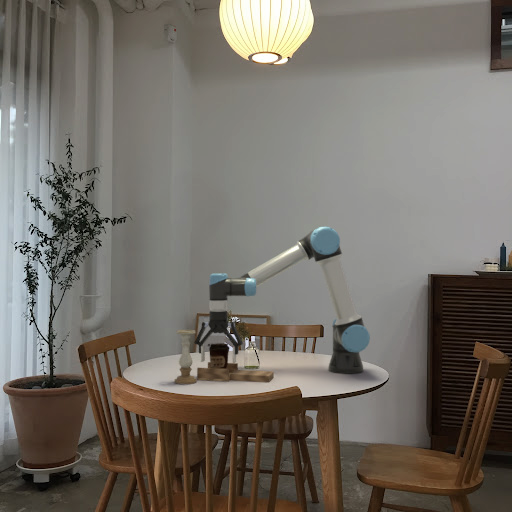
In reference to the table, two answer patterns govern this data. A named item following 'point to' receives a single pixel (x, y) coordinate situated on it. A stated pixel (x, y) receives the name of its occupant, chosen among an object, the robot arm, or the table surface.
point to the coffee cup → (219, 355)
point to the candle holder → (185, 359)
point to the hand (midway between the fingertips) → (218, 361)
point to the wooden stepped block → (233, 374)
